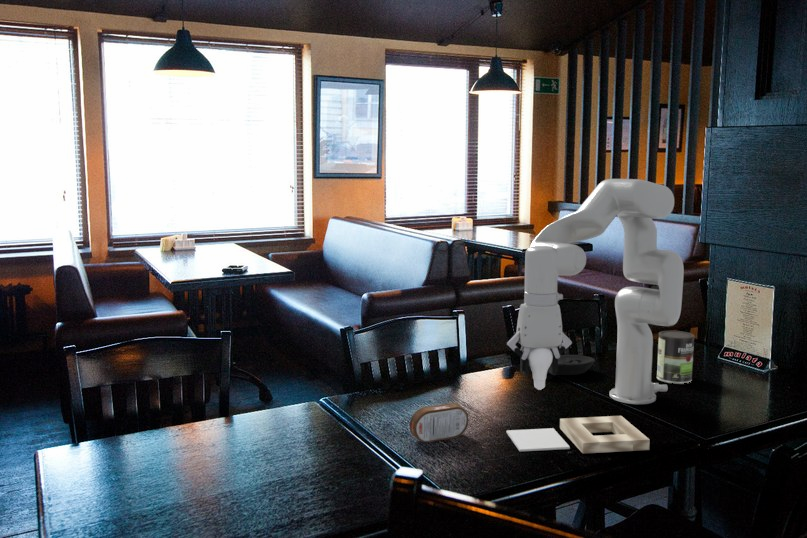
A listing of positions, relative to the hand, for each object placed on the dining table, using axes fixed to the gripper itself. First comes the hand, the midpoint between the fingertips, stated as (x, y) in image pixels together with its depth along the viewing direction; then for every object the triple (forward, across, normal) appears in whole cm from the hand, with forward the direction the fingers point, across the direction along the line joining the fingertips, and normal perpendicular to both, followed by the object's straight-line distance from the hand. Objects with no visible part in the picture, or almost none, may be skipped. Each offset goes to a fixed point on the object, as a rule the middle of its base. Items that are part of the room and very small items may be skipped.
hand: (538, 373), depth 174 cm
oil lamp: (+17, -25, -52) cm, 60 cm away
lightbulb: (+4, 0, 0) cm, 4 cm away
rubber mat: (+17, 0, 0) cm, 17 cm away
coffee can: (+17, -56, -42) cm, 72 cm away
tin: (+17, +23, -4) cm, 29 cm away
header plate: (+17, -16, +1) cm, 23 cm away
